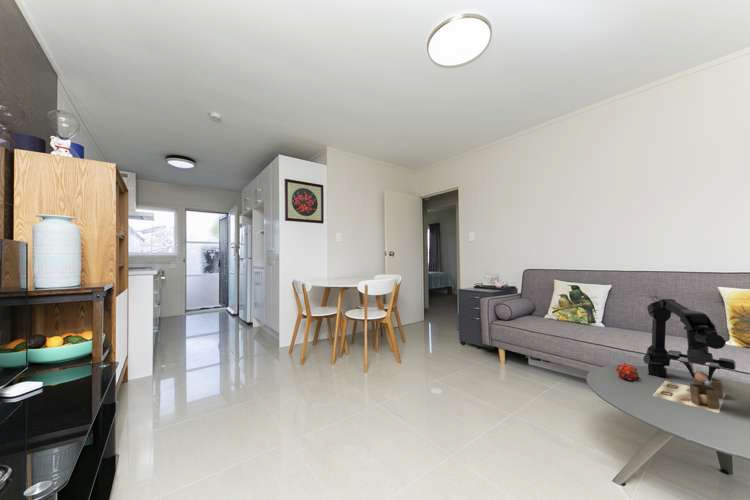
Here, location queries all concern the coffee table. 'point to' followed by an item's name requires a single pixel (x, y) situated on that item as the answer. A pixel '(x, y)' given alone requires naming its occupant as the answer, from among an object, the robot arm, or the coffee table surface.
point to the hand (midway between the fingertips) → (701, 379)
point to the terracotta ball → (701, 376)
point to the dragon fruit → (627, 371)
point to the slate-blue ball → (707, 383)
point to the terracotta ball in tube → (703, 399)
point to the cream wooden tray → (693, 394)
